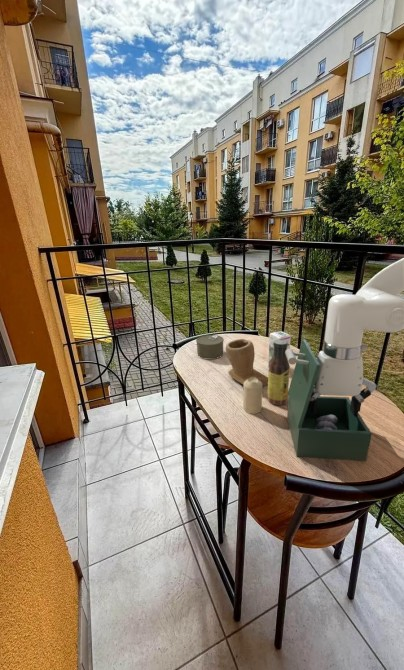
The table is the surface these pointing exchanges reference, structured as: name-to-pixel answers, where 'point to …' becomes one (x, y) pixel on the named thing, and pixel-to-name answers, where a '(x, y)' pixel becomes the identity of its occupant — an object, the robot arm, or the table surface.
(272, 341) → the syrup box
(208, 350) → the can
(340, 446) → the chest
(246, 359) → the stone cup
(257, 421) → the table surface
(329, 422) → the seashell
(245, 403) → the candle
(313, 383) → the lid
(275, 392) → the sauce bottle
